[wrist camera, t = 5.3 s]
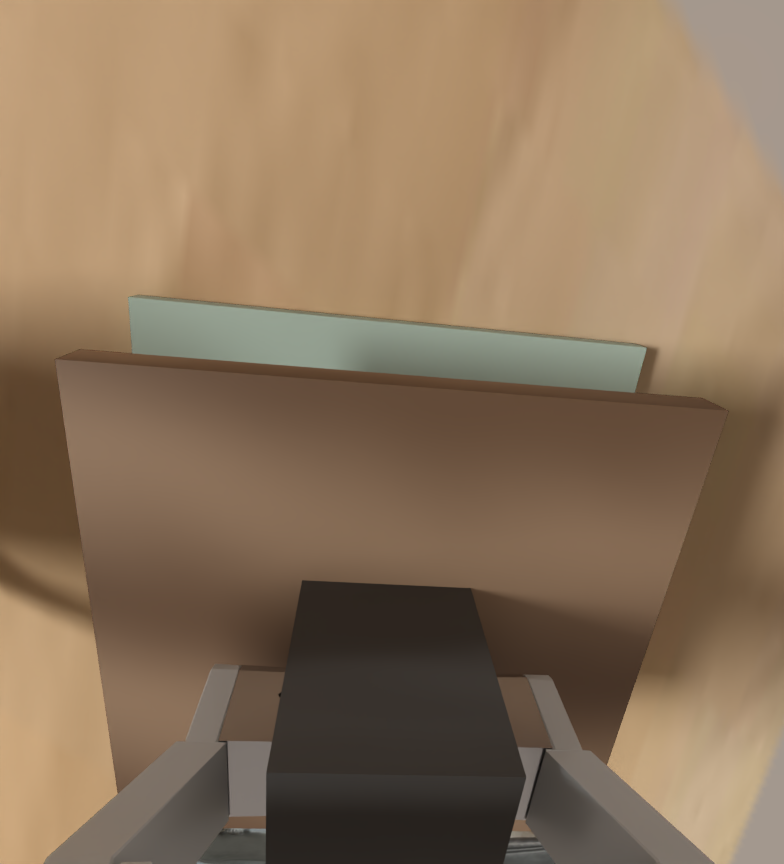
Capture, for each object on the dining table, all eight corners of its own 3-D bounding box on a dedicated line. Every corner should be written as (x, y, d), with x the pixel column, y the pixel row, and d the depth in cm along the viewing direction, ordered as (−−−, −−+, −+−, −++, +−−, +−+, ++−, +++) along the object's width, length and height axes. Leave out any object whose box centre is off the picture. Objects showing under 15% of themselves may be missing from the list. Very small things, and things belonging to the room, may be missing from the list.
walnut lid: (79, 349, 9) (-184, 454, 5) (702, 398, 10) (962, 523, 6) (136, 794, 14) (23, 1069, 9) (572, 801, 15) (663, 1053, 10)
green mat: (138, 295, 14) (128, 296, 13) (636, 343, 15) (647, 347, 14) (164, 691, 19) (157, 705, 18) (539, 707, 20) (544, 721, 19)
